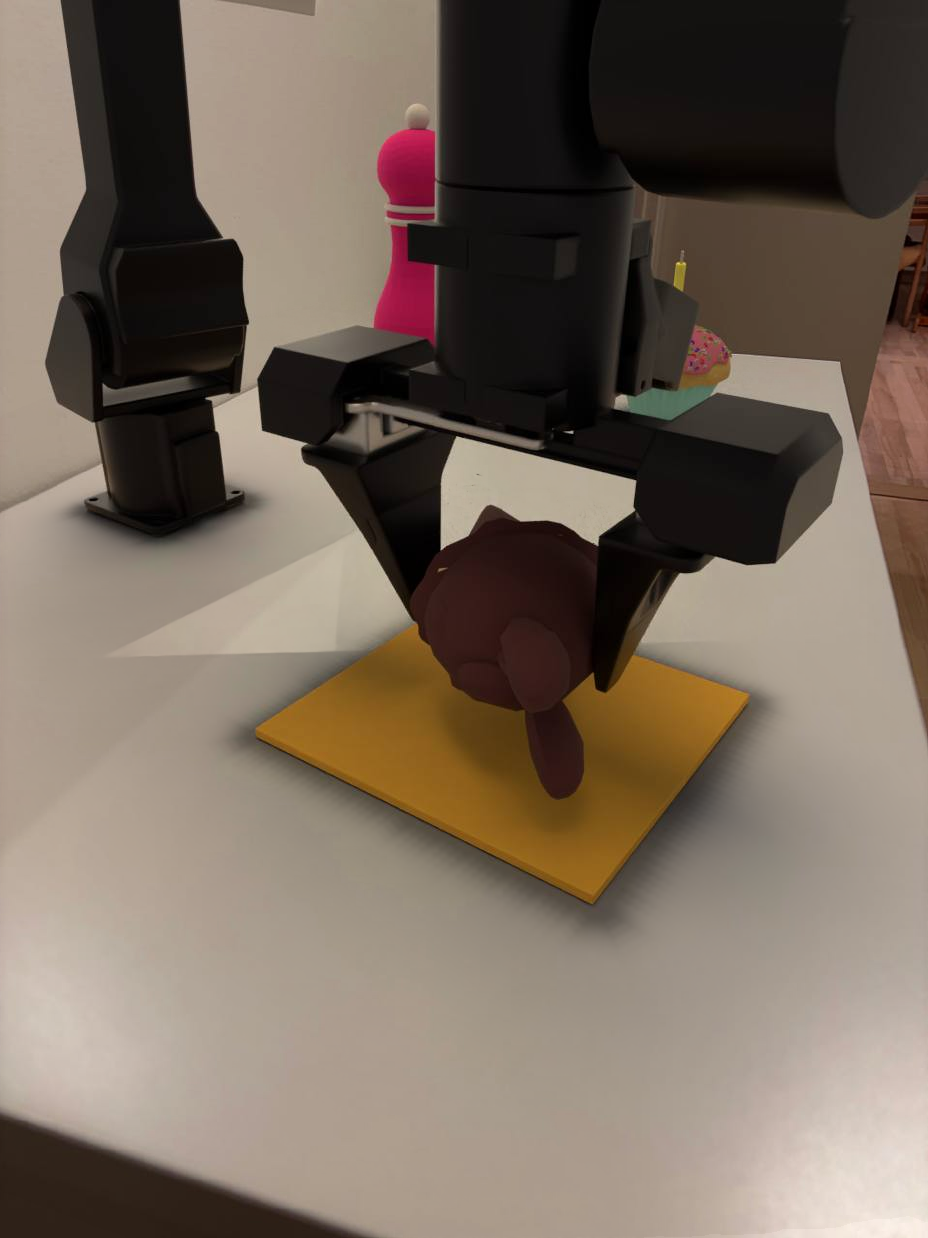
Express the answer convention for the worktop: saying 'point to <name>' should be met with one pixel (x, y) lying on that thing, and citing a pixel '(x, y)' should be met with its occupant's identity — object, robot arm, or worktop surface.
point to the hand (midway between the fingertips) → (511, 650)
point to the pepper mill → (411, 200)
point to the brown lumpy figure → (517, 628)
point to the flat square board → (511, 756)
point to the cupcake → (688, 371)
